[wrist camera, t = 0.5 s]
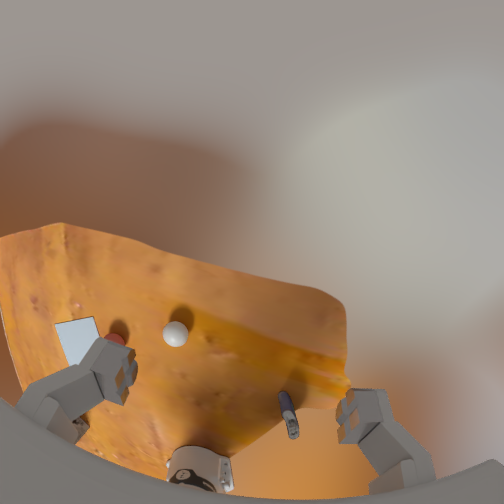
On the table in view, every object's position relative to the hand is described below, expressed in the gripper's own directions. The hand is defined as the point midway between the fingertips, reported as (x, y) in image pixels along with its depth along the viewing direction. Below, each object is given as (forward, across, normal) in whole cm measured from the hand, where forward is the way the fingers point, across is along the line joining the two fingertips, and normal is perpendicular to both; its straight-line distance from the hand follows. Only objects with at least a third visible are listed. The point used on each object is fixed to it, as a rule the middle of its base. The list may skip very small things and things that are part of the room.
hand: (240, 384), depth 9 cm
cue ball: (+35, -13, -34) cm, 51 cm away
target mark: (+32, -38, -46) cm, 68 cm away
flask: (+32, +15, -49) cm, 60 cm away
